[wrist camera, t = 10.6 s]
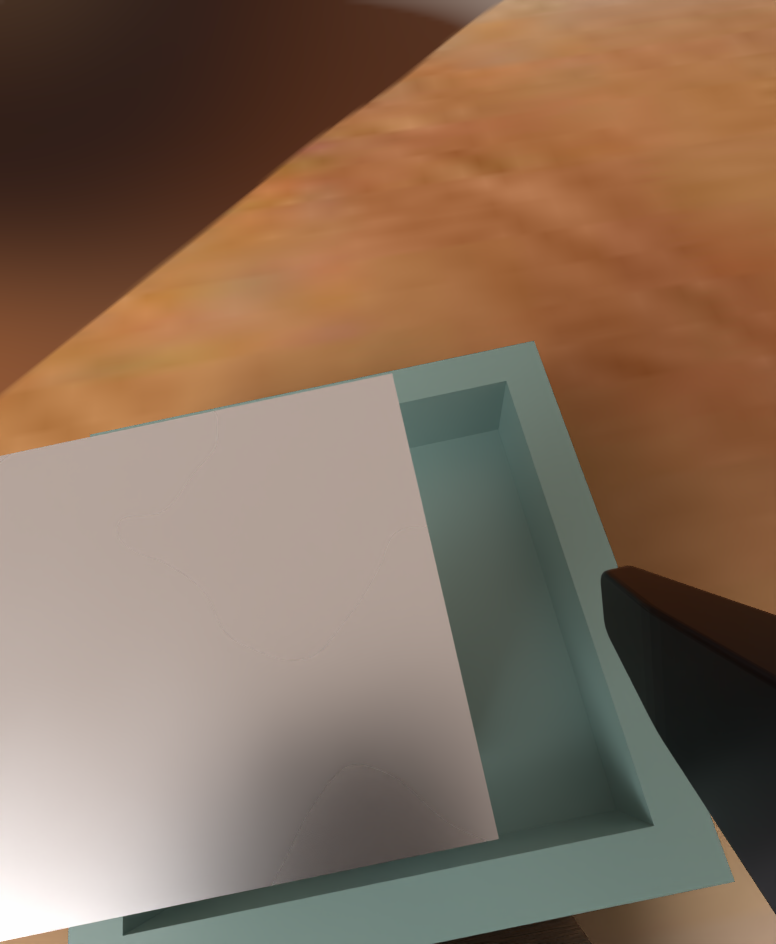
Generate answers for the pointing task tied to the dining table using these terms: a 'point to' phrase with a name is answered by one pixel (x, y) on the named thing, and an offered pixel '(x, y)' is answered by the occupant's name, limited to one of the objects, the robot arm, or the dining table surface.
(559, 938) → the tensioner bracket
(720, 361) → the dining table surface
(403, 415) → the tray
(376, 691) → the pin
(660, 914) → the dining table surface
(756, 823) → the robot arm
